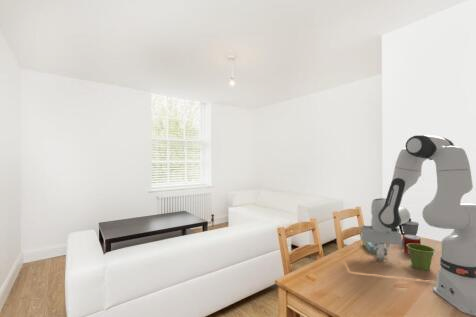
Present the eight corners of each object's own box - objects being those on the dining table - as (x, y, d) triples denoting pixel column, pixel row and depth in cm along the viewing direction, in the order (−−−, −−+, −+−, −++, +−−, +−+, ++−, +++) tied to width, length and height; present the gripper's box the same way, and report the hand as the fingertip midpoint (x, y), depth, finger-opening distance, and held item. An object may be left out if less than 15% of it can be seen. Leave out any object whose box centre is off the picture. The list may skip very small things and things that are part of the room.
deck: (390, 264, 125) (390, 262, 125) (376, 263, 127) (376, 261, 127) (384, 257, 135) (384, 255, 135) (371, 255, 136) (371, 254, 136)
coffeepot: (411, 241, 159) (410, 216, 159) (425, 246, 150) (424, 219, 150) (393, 243, 156) (392, 217, 156) (406, 248, 147) (405, 221, 147)
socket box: (386, 256, 136) (386, 247, 136) (369, 254, 138) (369, 245, 138) (378, 246, 151) (377, 238, 152) (362, 245, 154) (362, 237, 154)
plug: (385, 260, 128) (385, 242, 129) (378, 259, 129) (377, 241, 130) (383, 257, 132) (382, 240, 132) (376, 256, 133) (375, 239, 133)
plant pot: (441, 275, 114) (440, 252, 114) (414, 272, 116) (414, 250, 116) (426, 264, 125) (426, 243, 125) (402, 262, 127) (402, 242, 128)
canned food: (424, 257, 134) (423, 238, 134) (410, 257, 134) (410, 238, 134) (414, 252, 142) (414, 234, 142) (401, 252, 142) (401, 234, 142)
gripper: (361, 226, 130) (362, 250, 130) (402, 229, 125) (403, 254, 125) (358, 223, 137) (359, 246, 136) (398, 225, 131) (398, 249, 131)
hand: (380, 250), depth 131 cm, fingers closed on plug, 4 cm apart
